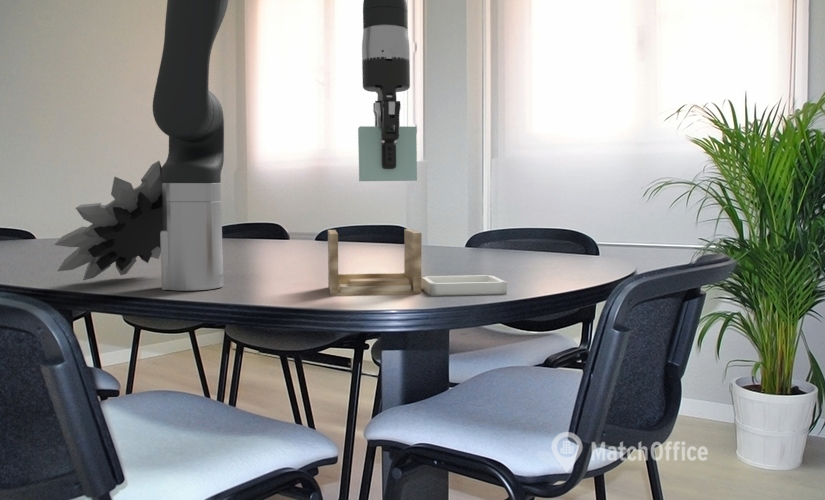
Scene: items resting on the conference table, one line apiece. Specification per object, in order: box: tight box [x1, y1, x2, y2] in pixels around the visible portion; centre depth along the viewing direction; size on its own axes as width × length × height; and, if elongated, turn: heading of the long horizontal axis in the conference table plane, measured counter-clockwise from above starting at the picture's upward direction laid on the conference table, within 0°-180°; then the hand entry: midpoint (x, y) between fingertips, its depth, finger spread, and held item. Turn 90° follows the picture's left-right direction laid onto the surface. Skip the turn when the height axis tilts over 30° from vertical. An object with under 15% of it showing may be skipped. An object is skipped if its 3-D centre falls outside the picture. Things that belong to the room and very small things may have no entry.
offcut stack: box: [339, 278, 411, 292], centre depth 105 cm, size 11×3×2 cm, turn 99°
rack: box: [327, 228, 422, 297], centre depth 108 cm, size 14×10×10 cm
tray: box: [421, 274, 508, 297], centre depth 107 cm, size 12×9×2 cm
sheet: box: [357, 125, 418, 182], centre depth 108 cm, size 9×3×8 cm, turn 99°
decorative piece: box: [53, 160, 163, 281], centre depth 117 cm, size 30×4×30 cm
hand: (387, 168), depth 108 cm, fingers closed on sheet, 3 cm apart
